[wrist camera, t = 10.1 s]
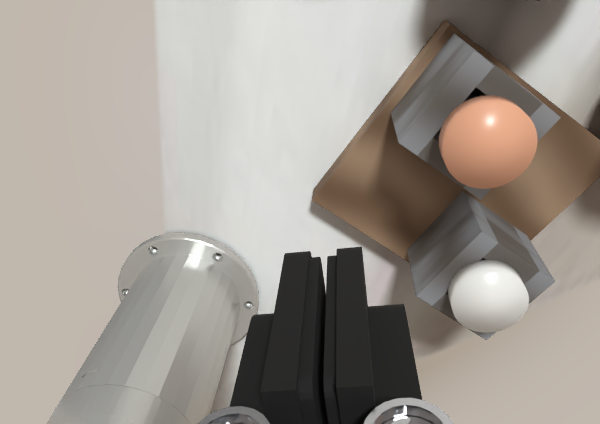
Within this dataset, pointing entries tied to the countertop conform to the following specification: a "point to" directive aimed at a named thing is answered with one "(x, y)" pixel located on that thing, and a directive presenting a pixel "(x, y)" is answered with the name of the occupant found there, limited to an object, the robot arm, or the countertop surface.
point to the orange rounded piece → (487, 141)
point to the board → (443, 186)
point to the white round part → (488, 296)
